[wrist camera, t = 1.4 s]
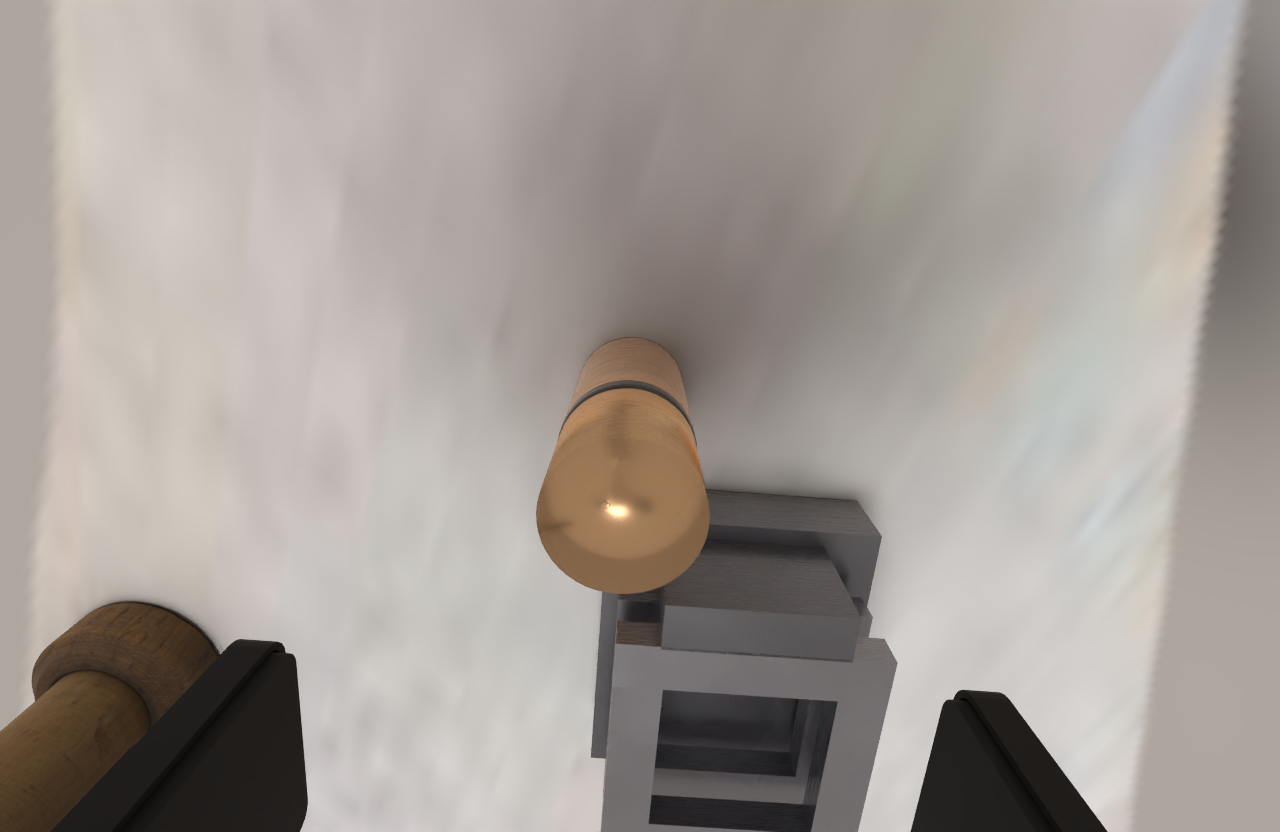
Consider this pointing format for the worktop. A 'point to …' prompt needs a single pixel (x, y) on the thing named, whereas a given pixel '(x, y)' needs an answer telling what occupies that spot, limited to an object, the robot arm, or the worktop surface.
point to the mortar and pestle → (93, 707)
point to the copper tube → (625, 475)
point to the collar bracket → (747, 677)
